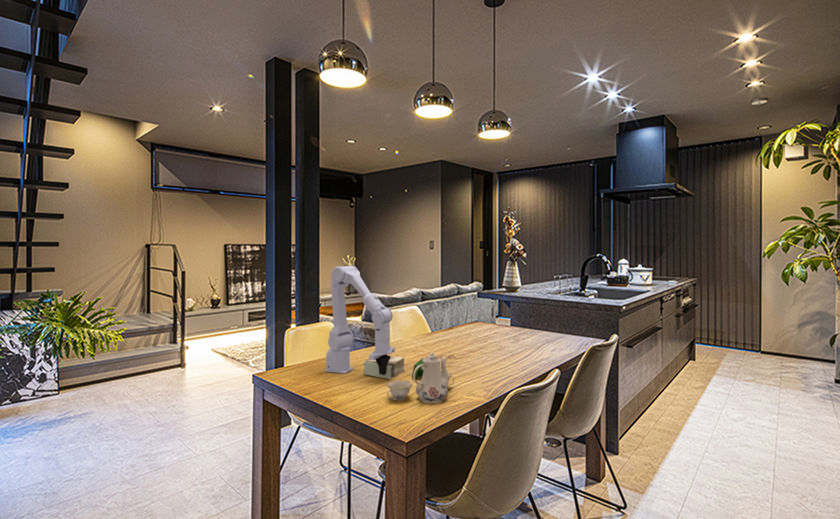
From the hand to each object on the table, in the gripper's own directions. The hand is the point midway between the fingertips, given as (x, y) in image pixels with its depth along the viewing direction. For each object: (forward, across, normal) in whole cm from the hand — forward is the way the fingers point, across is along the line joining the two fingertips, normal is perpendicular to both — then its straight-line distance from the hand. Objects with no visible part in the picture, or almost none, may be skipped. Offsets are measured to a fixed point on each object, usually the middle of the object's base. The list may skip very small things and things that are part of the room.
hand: (382, 374), depth 161 cm
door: (+2, +1, +3) cm, 4 cm away
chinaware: (+2, -8, -24) cm, 25 cm away
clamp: (+2, +12, -12) cm, 17 cm away
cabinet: (+2, +8, +5) cm, 10 cm away
